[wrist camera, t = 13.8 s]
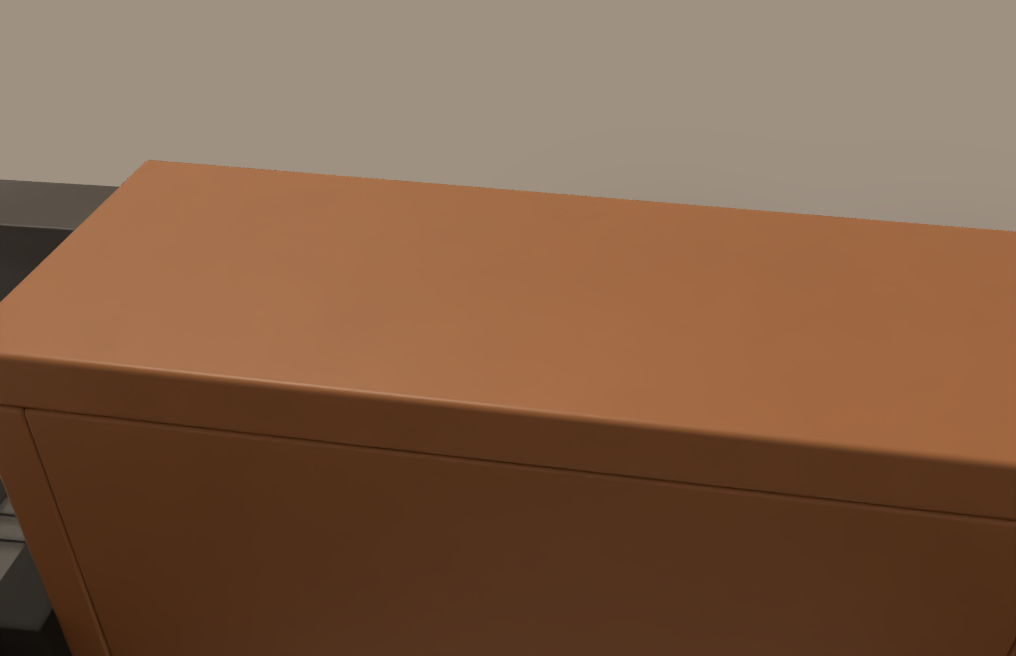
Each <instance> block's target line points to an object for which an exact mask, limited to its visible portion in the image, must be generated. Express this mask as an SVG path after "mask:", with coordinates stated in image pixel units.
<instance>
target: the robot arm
mask: <svg viewBox="0 0 1016 656" xmlns="http://www.w3.org/2000/svg"><path fill="white" fill-rule="evenodd" d="M0 656H72V655H71V652H70V650H69V647H68V645H67V642H66V640H65V637H64V635H63V633H62V630H61V628H60V625H59V623H58V620H57V618H56V615H55V613H54V611H53V609H52V606H51V604H50V601H49V599H48V596H47V594H46V591H45V589H44V586H43V584H42V581H41V579H40V576H39V574H38V571H37V569H36V566H35V564H34V561H33V559H32V556H31V554H30V551H29V549H28V546H27V544H26V541H25V539H24V536H23V534H22V531H21V529H20V526H19V523H18V521H17V518H16V516H15V513H14V511H13V508H12V506H11V503H10V501H9V498H8V496H7V497H6V498H5V500H4V501H3V502H2V504H1V505H0Z"/></svg>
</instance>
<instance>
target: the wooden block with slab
mask: <svg viewBox="0 0 1016 656" xmlns="http://www.w3.org/2000/svg"><path fill="white" fill-rule="evenodd" d="M118 188H119V187H114V186H98V185H81V184H65V183H49V182H32V181H16V180H0V302H1V301H2V300H3V299H4V298H5V297H6V296H7V295H8V294H9V293H10V292H11V291H12V290H13V289H14V288H15V287H16V286H18V285H19V284H20V283H21V282H22V281H23V280H24V279H25V278H26V277H27V276H28V275H29V274H30V273H31V272H32V271H33V270H34V269H35V268H36V267H37V266H38V265H39V264H40V263H41V262H42V261H43V260H44V259H45V258H46V257H47V256H48V255H50V254H51V253H52V252H53V251H54V250H55V249H56V248H57V247H58V246H59V245H60V244H61V243H62V242H63V241H64V240H65V239H66V238H67V237H68V236H69V235H70V234H71V233H72V232H73V231H74V230H75V229H76V228H77V227H78V226H79V225H80V224H82V223H83V222H84V221H85V220H86V219H87V218H88V217H89V216H90V215H91V214H92V213H93V212H94V211H95V210H96V209H97V208H98V207H99V206H100V205H101V204H102V203H103V202H104V201H105V200H106V199H107V198H108V197H109V196H110V195H111V194H113V193H114V192H115V191H116V190H117V189H118ZM6 497H7V493H6V491H5V488H4V486H3V483H2V481H1V478H0V505H1V504H2V502H3V501H4V500H5V498H6Z"/></svg>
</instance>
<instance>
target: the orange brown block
mask: <svg viewBox="0 0 1016 656" xmlns="http://www.w3.org/2000/svg"><path fill="white" fill-rule="evenodd" d="M0 478H1V481H2V483H3V486H4V488H5V491H6V493H7V496H8V498H9V501H10V503H11V506H12V508H13V511H14V513H15V516H16V518H17V521H18V523H19V526H20V529H21V531H22V534H23V536H24V539H25V541H26V544H27V546H28V549H29V551H30V554H31V556H32V559H33V561H34V564H35V566H36V569H37V571H38V574H39V576H40V579H41V581H42V584H43V586H44V589H45V591H46V594H47V596H48V599H49V601H50V604H51V606H52V609H53V611H54V613H55V615H56V618H57V620H58V623H59V625H60V628H61V630H62V633H63V635H64V637H65V640H66V642H67V645H68V647H69V650H70V652H71V655H72V656H1016V232H1014V231H1002V230H989V229H977V228H965V227H953V226H941V225H929V224H917V223H905V222H893V221H881V220H869V219H856V218H844V217H832V216H821V215H809V214H796V213H783V212H771V211H760V210H747V209H736V208H723V207H712V206H699V205H687V204H676V203H663V202H650V201H639V200H627V199H615V198H603V197H590V196H579V195H567V194H555V193H542V192H530V191H518V190H506V189H494V188H481V187H470V186H458V185H446V184H433V183H421V182H410V181H398V180H386V179H373V178H361V177H349V176H336V175H325V174H313V173H301V172H288V171H277V170H265V169H252V168H240V167H228V166H216V165H204V164H192V163H180V162H168V161H156V160H149V161H146V162H145V163H143V164H142V165H141V166H140V167H139V168H138V169H137V170H136V171H135V172H134V173H133V174H132V175H131V176H130V177H129V178H128V179H127V180H126V181H125V182H124V183H123V184H122V185H121V186H120V187H119V188H118V189H117V190H116V191H115V192H114V193H113V194H111V195H110V196H109V197H108V198H107V199H106V200H105V201H104V202H103V203H102V204H101V205H100V206H99V207H98V208H97V209H96V210H95V211H94V212H93V213H92V214H91V215H90V216H89V217H88V218H87V219H86V220H85V221H84V222H83V223H82V224H80V225H79V226H78V227H77V228H76V229H75V230H74V231H73V232H72V233H71V234H70V235H69V236H68V237H67V238H66V239H65V240H64V241H63V242H62V243H61V244H60V245H59V246H58V247H57V248H56V249H55V250H54V251H53V252H52V253H51V254H50V255H48V256H47V257H46V258H45V259H44V260H43V261H42V262H41V263H40V264H39V265H38V266H37V267H36V268H35V269H34V270H33V271H32V272H31V273H30V274H29V275H28V276H27V277H26V278H25V279H24V280H23V281H22V282H21V283H20V284H19V285H18V286H16V287H15V288H14V289H13V290H12V291H11V292H10V293H9V294H8V295H7V296H6V297H5V298H4V299H3V300H2V301H1V302H0Z"/></svg>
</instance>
